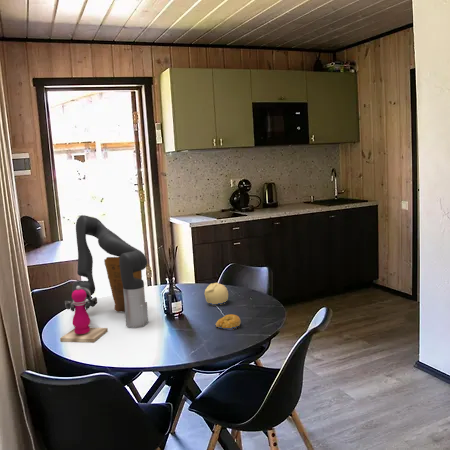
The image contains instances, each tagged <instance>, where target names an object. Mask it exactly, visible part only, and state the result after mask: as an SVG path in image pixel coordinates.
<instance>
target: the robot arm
mask: <svg viewBox="0 0 450 450" xmlns="http://www.w3.org/2000/svg"><path fill="white" fill-rule="evenodd" d="M87 236H92V237H94V238H96V239H97V243H98V246H99V247H100V248H101V249H102V250H103V251H104V252H106V253H107V254H109V255H110V256H113V257H120V259H119V265H120V272H121V280H122V284H123V291H124V305H125V312H124V317H125V327H128V328H132V329H133V328H140V327H141V328H142V327H145V326H146V325H147V324H148V323H149V314H148V310H149V309H148V302H147V301H146V294H145V282H144V279H143V278H142V279H138V278H134V276H133V272H137V271H143V270H145V269H146V268H147V266H148V259H147V257H146V255H145V253H143V252H142V251H141V250H139V249H138V248H136V247H134V246H132V245H131V244H129V243H128V242H127V241H125V240H123V239H122V238H121V237H120V236H119V235H117V234H116V233H115V232H113V231H112V230H110V229H109V228H107V227H106V226H105V225H104V224H103V223H102V221H100V219H99V218H96V217H93V216H89V215H85V214H84V215H83V214H81V215H79V216H78V218H77V219H76V222H75V237H76V245H77V269H76V270H77V276H80V277H84V278H86V279H87V280H76V281H74V282H73V284H72V287H71V289H72V292H73V291H75V290H77V289H76V287H77V286H80V287H81V289H83V290H84V291H85V292H86V295H87V296H86V298H85V300H86V304H85V309H86V311H88V310H89V309H90V307H91V308H93V307H95V306H96V305H97V304H98V297H96V296H95V297H93V298H92V295H94V294H95V293H96V286H95V282H94V281H95V280H94V275H93V264H94V262H93V261H94V260H93V259H94V258H93V255H92V252H91V250H90V248H89V245H88V242H87ZM73 302H74V300H73V299H71V300H64V307H65V308H66V309H67V310H70V311H72V312H75V305H74V303H73Z"/></svg>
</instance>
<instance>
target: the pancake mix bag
mask: <svg viewBox="0 0 450 450" xmlns="http://www.w3.org/2000/svg"><path fill="white" fill-rule="evenodd" d="M119 259H120V257H118V256H108V257H106V258H105V259H104V261H103V262H104V265H105V270H106V274H107V279H108V283H109V286H110V291H111V294H112V298H113V302H114V311H116V312H117V313H125V305H124V291H123V284H122V280H121V272H120V265H119ZM142 271H143V270H141V271H137V272H133V276H134V278H138V279H142V280H143V278H142V277H143V275H142Z"/></svg>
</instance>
